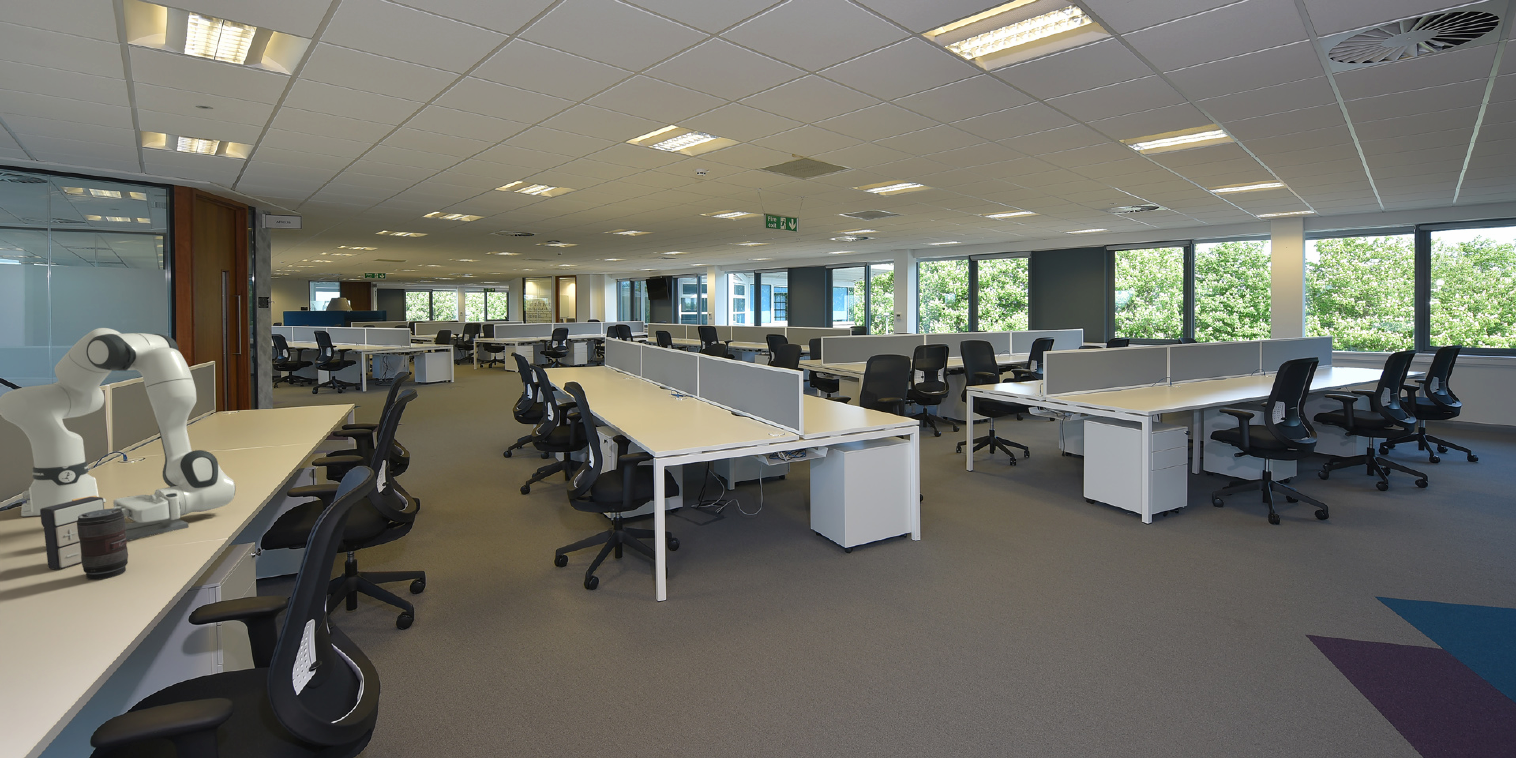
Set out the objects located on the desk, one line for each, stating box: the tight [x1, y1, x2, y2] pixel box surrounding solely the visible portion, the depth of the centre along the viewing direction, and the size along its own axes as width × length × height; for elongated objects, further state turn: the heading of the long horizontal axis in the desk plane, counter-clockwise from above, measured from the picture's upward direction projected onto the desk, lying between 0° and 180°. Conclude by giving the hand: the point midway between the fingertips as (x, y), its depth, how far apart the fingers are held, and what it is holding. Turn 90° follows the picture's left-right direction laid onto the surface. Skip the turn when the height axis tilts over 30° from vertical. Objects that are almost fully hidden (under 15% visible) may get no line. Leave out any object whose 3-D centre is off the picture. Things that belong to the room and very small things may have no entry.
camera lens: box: [77, 507, 129, 581], centre depth 161 cm, size 8×8×15 cm
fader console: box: [125, 518, 190, 541], centre depth 189 cm, size 14×24×1 cm, turn 148°
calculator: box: [39, 496, 105, 571], centre depth 168 cm, size 11×4×15 cm, turn 168°
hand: (102, 515), depth 185 cm, fingers closed
